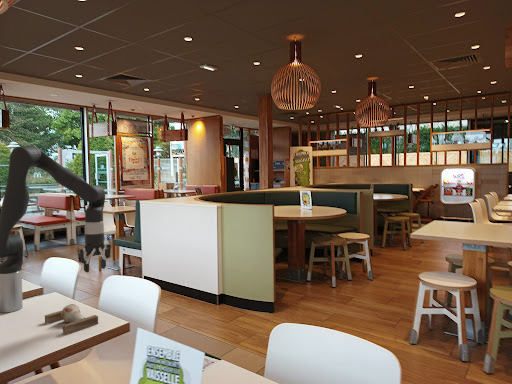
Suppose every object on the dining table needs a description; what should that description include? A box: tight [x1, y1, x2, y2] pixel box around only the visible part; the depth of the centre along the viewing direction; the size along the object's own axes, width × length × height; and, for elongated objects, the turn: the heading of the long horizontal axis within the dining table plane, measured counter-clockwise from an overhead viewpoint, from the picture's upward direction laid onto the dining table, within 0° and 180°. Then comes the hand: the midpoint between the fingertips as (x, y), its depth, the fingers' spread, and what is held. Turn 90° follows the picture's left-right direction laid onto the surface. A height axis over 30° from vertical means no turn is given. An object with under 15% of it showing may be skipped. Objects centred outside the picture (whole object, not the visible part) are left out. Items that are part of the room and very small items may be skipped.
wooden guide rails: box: [44, 310, 99, 335], centre depth 150 cm, size 18×13×3 cm
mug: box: [61, 303, 86, 323], centre depth 151 cm, size 8×10×10 cm
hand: (95, 270), depth 158 cm, fingers open, 6 cm apart
